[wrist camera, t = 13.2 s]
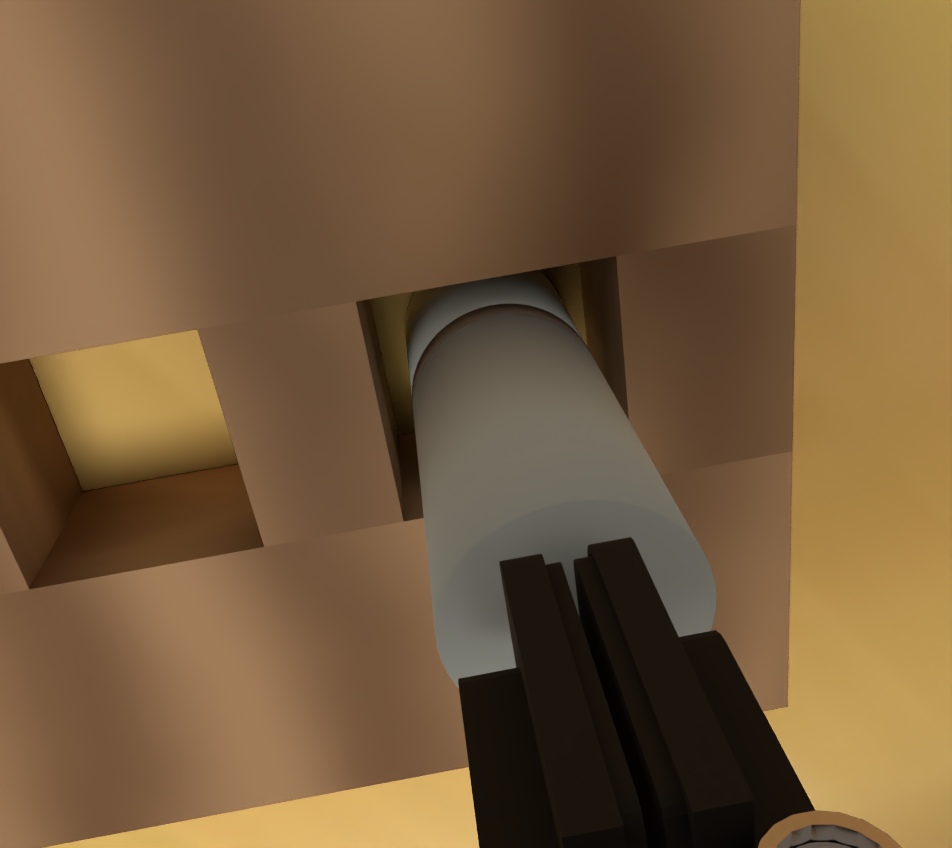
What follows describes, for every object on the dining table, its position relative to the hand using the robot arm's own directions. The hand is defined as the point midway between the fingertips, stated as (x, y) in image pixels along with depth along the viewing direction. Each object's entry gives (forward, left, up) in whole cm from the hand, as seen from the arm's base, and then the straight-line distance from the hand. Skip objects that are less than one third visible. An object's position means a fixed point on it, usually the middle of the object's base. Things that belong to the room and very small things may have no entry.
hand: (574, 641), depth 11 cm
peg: (0, 0, -12) cm, 12 cm away
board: (+4, 0, -12) cm, 12 cm away
